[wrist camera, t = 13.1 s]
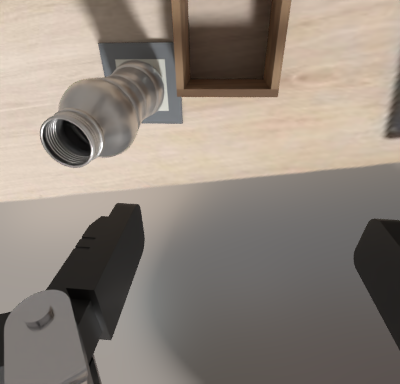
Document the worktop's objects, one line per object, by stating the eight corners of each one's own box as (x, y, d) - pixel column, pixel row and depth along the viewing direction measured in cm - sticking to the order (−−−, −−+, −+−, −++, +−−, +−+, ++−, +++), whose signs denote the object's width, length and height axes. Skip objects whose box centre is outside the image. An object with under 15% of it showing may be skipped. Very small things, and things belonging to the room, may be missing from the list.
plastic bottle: (152, 48, 32) (72, 72, 15) (176, 101, 35) (132, 170, 18) (109, 70, 33) (-6, 114, 17) (136, 118, 37) (61, 196, 20)
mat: (99, 43, 32) (97, 43, 32) (178, 42, 32) (178, 42, 31) (114, 122, 38) (113, 123, 37) (182, 122, 37) (182, 123, 37)
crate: (179, -22, 28) (169, -33, 23) (282, -25, 27) (296, -37, 22) (184, 85, 34) (177, 96, 29) (268, 85, 33) (277, 97, 28)
